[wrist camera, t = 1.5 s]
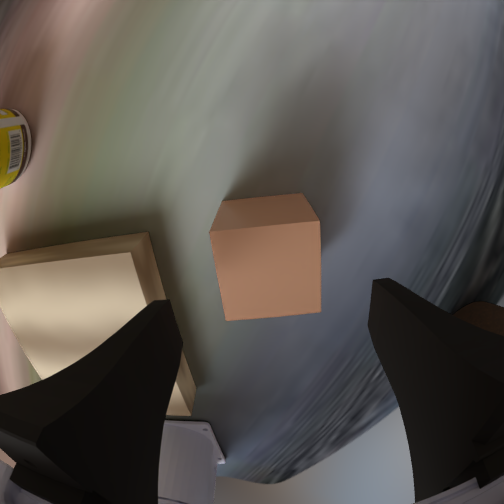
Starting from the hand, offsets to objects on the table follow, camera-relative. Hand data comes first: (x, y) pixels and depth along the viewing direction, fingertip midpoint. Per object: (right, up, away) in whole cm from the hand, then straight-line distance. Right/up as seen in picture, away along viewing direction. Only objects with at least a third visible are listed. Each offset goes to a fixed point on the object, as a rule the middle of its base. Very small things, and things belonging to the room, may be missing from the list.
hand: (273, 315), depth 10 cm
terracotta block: (0, +3, +7) cm, 8 cm away
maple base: (-13, -4, +10) cm, 17 cm away
